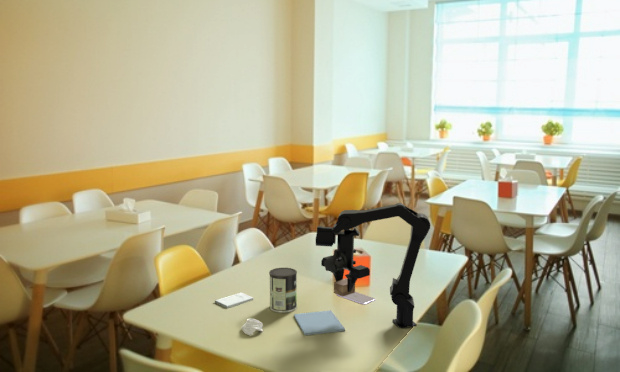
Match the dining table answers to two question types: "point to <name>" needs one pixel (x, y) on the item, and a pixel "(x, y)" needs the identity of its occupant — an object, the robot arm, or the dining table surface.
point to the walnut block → (342, 288)
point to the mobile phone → (359, 298)
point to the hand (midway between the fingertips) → (344, 289)
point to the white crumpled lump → (252, 326)
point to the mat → (318, 322)
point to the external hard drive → (233, 300)
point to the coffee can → (283, 290)
